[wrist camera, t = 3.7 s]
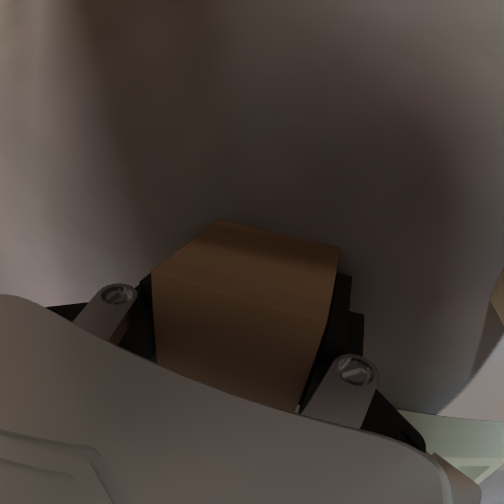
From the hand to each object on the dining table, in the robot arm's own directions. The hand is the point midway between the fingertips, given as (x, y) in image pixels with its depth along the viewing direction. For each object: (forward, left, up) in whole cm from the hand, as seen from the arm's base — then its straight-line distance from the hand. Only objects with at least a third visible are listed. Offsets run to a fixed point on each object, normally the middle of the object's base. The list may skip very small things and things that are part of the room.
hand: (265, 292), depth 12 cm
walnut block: (0, 0, 0) cm, 0 cm away
